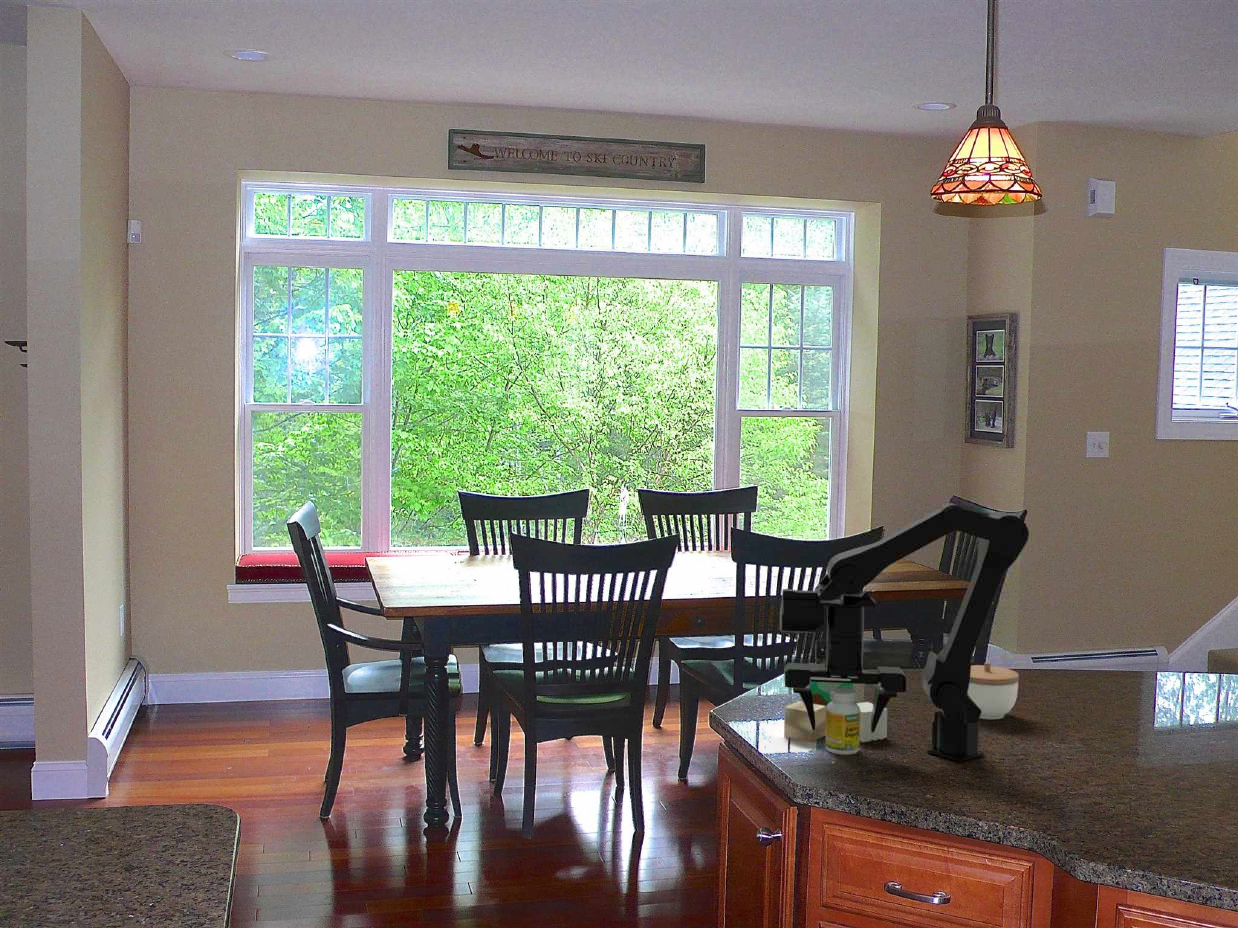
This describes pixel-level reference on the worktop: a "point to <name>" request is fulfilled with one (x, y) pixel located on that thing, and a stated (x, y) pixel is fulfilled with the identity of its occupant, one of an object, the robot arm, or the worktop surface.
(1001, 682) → the lidded jar
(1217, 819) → the worktop surface
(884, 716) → the white cube
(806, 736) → the maple block
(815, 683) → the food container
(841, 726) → the supplement bottle
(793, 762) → the worktop surface
